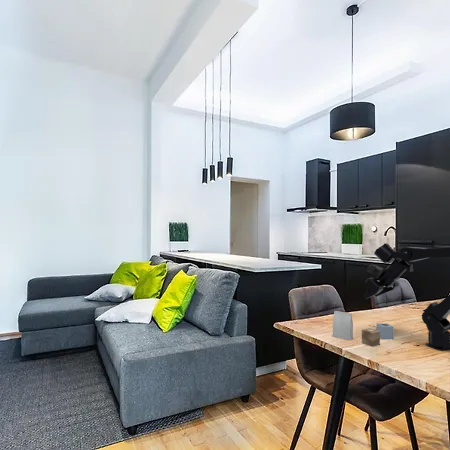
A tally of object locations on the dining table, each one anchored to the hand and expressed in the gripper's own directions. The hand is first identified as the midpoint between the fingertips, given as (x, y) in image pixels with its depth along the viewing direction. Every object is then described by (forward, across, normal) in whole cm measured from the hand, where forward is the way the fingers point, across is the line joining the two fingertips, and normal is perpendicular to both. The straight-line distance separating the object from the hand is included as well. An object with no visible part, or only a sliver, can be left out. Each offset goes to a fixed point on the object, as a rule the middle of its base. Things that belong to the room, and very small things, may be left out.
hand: (370, 297), depth 141 cm
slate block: (+6, +5, +16) cm, 17 cm away
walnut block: (+5, +17, +16) cm, 24 cm away
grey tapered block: (+12, +18, +8) cm, 24 cm away
